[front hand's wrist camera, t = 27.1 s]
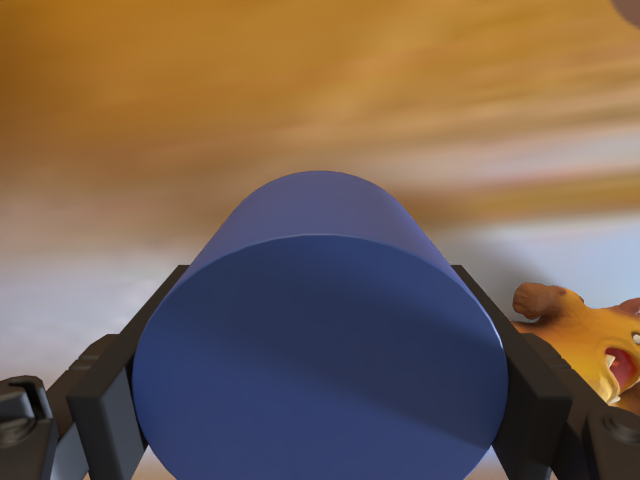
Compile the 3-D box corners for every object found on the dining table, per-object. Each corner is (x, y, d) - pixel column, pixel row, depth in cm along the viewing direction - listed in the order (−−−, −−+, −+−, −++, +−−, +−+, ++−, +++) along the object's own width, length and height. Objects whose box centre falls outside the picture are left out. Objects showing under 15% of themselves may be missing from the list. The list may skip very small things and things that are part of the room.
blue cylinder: (278, 389, 18) (252, 567, 11) (171, 231, 15) (47, 339, 8) (455, 317, 16) (552, 469, 10) (374, 128, 14) (429, 154, 7)
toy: (498, 282, 23) (741, 299, 23) (459, 273, 29) (649, 287, 29) (485, 462, 23) (729, 480, 23) (449, 414, 29) (639, 427, 29)
